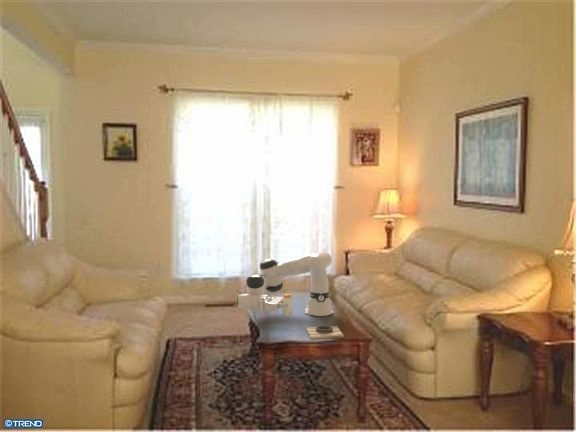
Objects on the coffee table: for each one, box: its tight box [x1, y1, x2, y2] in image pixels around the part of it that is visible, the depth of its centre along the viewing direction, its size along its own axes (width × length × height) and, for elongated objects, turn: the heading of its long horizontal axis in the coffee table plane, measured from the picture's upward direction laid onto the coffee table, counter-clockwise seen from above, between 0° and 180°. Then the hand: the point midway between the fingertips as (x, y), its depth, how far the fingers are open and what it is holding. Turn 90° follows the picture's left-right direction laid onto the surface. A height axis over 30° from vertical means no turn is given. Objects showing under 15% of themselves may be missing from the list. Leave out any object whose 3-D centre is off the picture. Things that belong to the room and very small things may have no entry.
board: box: [305, 325, 345, 340], centre depth 292 cm, size 18×18×3 cm
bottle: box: [282, 293, 293, 317], centre depth 289 cm, size 5×5×11 cm
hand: (289, 304), depth 289 cm, fingers closed on bottle, 5 cm apart
